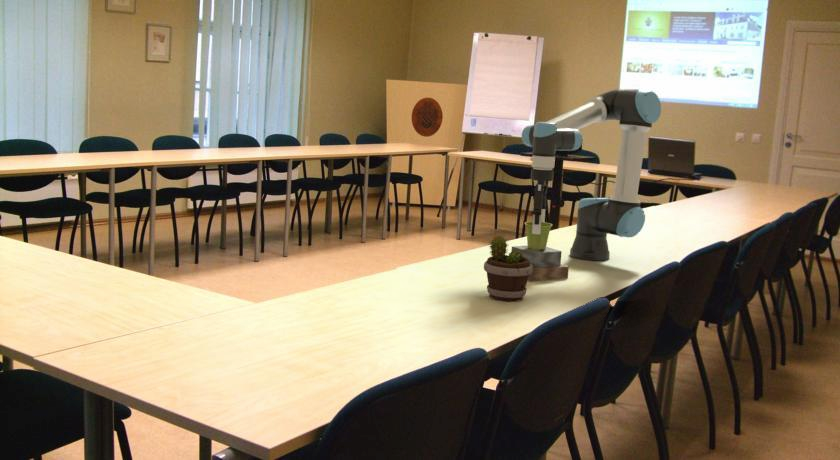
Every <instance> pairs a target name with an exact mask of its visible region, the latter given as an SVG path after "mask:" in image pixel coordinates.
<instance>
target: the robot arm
mask: <svg viewBox="0 0 840 460" xmlns="http://www.w3.org/2000/svg"><path fill="white" fill-rule="evenodd" d="M661 112H662V103H661V100H660V98H659V96H658V94H657V93H656V92H654V91H653V90H649V89H642V88H641V89H636V88H635V89H633V88H631V89H629V88H617V89H612V90H609V91H605V92H603V93H601V94H599V95H596V96H594V97H591V98H590V99H588V100H587V102H586V103H585V104H583V105H581V106H579V107H576V108H574V109H571V110H569V111H567V112H565V113H563V114H561V115H558V116H556V117H553V118H552V119H549V120H547V121H537V122H536V123H535V124H532V125H527V126H525V127H524V128H523V130H522V132H521V140H522V143H523V144H524V145H525V146H527V147H531V148H532V153H531V154H532V157H530V159H529V160H530V161H531V167H532V168H531V170H530V180H532V181H537V183H536V184H535V186H534V202H533V210H532V211H530V212H531V213H530V214H531V215H532V222H533V226H532V234H540V232H541V222H545V219H546V210H548V205H547V196H548V195H547V194H548V182H552V181H553V180H554V174H555V171H554V168H555V161H556V152H557V151H561V152H562V151H566V152H567V151H568V152H572V151H576V150H578V149H579V148H581V146H582V144H583V135H582V133H581V131H580V130H581V129H584V128H585V127H587V126H590V125H593V124H594V123H598V124H599V123H603V122H605V121H619V122H618V123H619V124H618V126H619V127H620V128H621V130H622V133H621V139H620V146H619V153H618V160H617V167H616V174H615V175H616V176H615V180H614V188H613V194H612V195H611V196H610V197H587V198H585V197H584V198H580V200H579V201H578V207H577V217H576V229H575V230H576V231H575V233H576V234H575V237H574V240H573V242H572V247H570V250H569V256H570V257H572V258H576V259H580V260H586V261H588V260H589V261H606V260H609V259H610V258H611V257H610V255H611V252H610V250H609V244H608V238H607V237H608V234H609V235H613V236H617V237H620V238H633V237H635V236H637V235H638V234H639V233H640V232H641V231H642V229H643V228H644V225H645V222H646V214H645V211H644V209H642V207H641V201H640V200H639V198H638V194H639V193H638V192H639V187H640V179H641V172H642V166H643V159H644V152H645V145H646V138H647V133H648V132H649V131H650V130H651V129H653V127H652V126H653V124H654V123H656V122H657V121H658V120H659V118H660V117H661ZM545 223H546V222H545Z"/></svg>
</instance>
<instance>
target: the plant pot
mask: <svg viewBox="0 0 840 460" xmlns="http://www.w3.org/2000/svg"><path fill="white" fill-rule="evenodd" d="M524 225H525V229H526V240H527V246H528V248H531V249H532V250H541V249H542V250H545V249H546V247H547V245H548V239H549V235H550V232H551V229H552V227H553V224H552V223H550V222H541V232H540V234H532V226H533V221H526V222H524Z"/></svg>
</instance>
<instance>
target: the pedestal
mask: <svg viewBox="0 0 840 460" xmlns="http://www.w3.org/2000/svg"><path fill="white" fill-rule="evenodd" d="M515 248H517V250H519V252H520V253H522V255H523V257H525V258H527V259H528V260H529V262H530V264H532V266H533V270H532V273H531V274H530V275H529V278H528V281H527V282H539V281H540V282H541V281H552V280H560V279H568V278H569V269H570V267H569V266H568V265H566V264H563V263H562V254H563V253H562V252H563V251H562V250H558V249H557V248H556V249H555V248H552V247H549V246H546V249H545V250H542V249H541V250H532V249H531V248H528V245H517V246H511V251H513V250H514V249H515ZM521 249H522V250H521ZM517 250H514V251H517Z"/></svg>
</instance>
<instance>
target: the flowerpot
mask: <svg viewBox="0 0 840 460" xmlns="http://www.w3.org/2000/svg"><path fill="white" fill-rule="evenodd" d="M508 242H509V241H508V240H507V239H506V238H505V235H504V233H503V234H500V233H499V231H497V234H496V235H494V236H493V238H491V239H490V242H489V247H488V249H489V251H490V254H491V256H489V257H488V258H487V260H486V261H485V262H484V263H483V270H484V272H486V277H487V283H488V284H487V285H486V289H487V293H488V295H489V297H490V298H491V299H495V300H498V301H501V300H502V301H503V302H504V301H505V302H512V301H513V302H517V301H521V300H523V298H524V297H525V296H526V293H527V291H528V289H527V287H526V286H527V285H528V282H529V281H528V278H529V275H530V274H531V273H532V270H533V266H532V264H530V262H529V260H528V259H527V258H525V257H523V255H522V253H520V252H519V250H517V248H515V249H514V250H517V251H514V250H513V251H512V250H511V251H510V252H508V249H507V248H508ZM521 250H522V249H521ZM502 301H501V302H502Z"/></svg>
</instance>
